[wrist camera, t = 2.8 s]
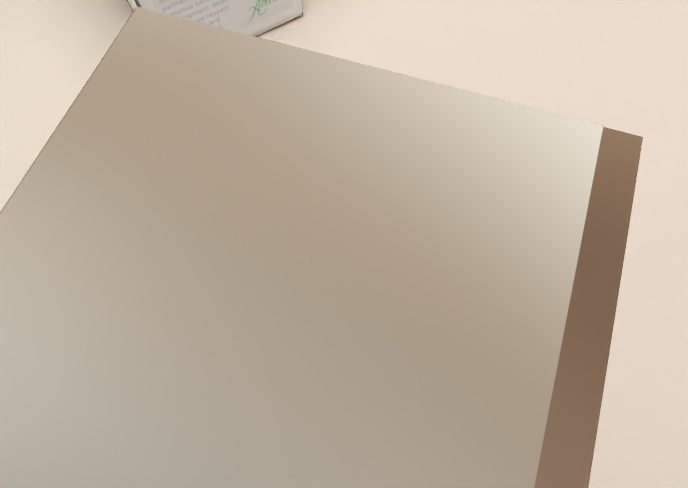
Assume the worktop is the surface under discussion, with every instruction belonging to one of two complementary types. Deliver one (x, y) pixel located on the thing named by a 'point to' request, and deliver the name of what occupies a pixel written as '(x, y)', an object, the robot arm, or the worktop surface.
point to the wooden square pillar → (305, 277)
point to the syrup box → (229, 12)
